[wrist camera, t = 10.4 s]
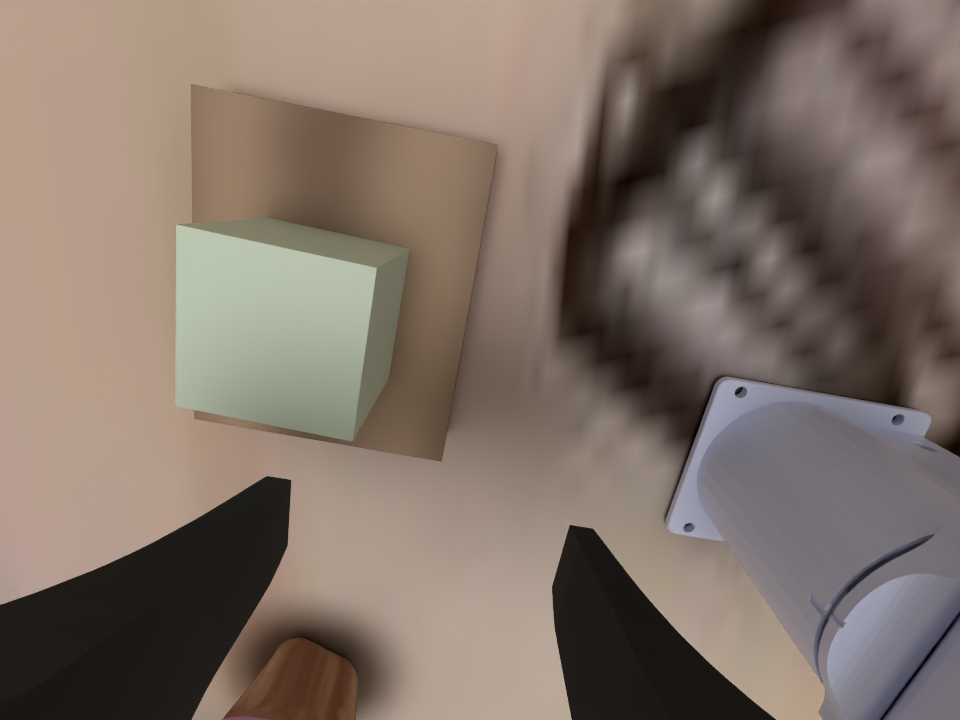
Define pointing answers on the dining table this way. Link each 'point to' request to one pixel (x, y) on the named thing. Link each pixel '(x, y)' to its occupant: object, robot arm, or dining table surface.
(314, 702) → the cupcake
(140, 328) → the dining table surface
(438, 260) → the walnut block
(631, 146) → the dining table surface
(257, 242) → the sage cube
